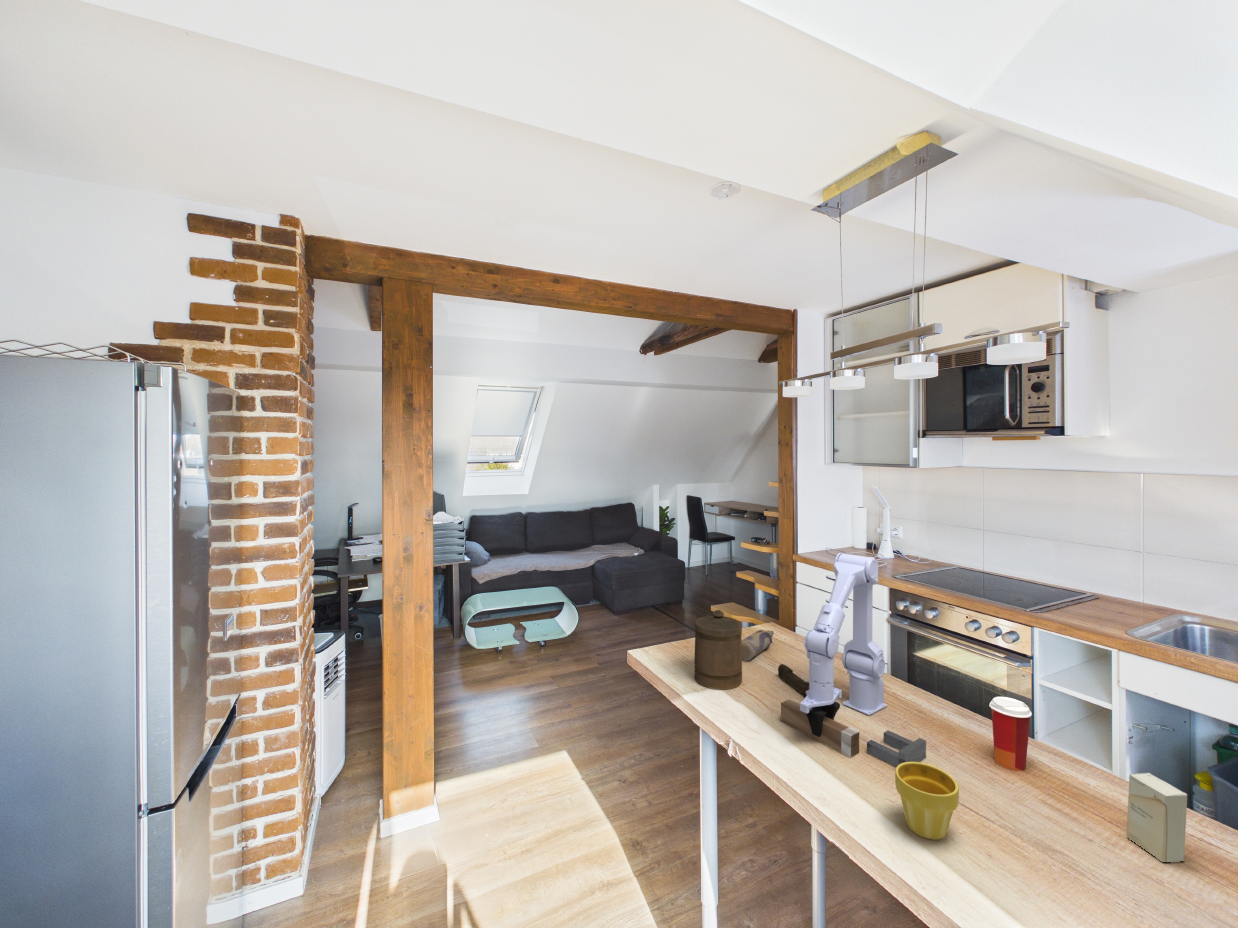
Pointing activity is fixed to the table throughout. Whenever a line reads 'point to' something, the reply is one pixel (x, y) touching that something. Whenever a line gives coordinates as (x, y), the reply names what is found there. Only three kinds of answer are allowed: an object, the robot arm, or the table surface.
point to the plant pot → (926, 798)
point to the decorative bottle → (756, 644)
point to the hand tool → (792, 679)
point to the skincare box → (1157, 817)
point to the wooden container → (718, 651)
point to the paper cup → (1010, 732)
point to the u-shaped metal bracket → (907, 749)
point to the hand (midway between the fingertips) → (821, 732)
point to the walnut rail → (831, 733)
